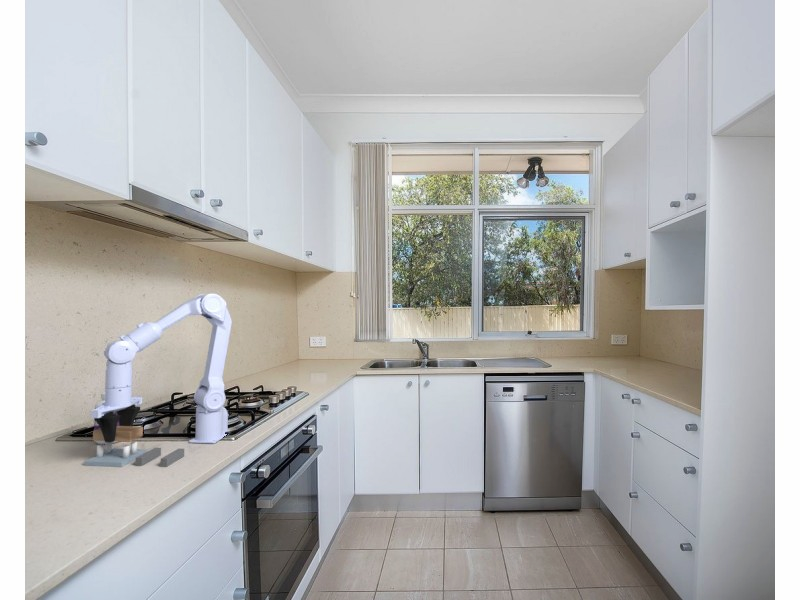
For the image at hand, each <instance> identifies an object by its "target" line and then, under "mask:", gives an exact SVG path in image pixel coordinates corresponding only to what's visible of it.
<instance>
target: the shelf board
mask: <svg viewBox="0 0 800 600" xmlns="http://www.w3.org/2000/svg"><path fill="white" fill-rule="evenodd" d="M143 432H144V427H143V426H136V425H135V426H134V425H132V426H117V428H116V436H115V440H114V441H118V442H117V443H119V442H121V443H122V442H123V443H125V442H126V443H132V442H134V441H135V440H137V439H139V438H142V437H144V433H143ZM92 441H93V442H94V441H105V440H104V437H103V434H102V431H101V428H99V429H97V430H94V429H93V431H92Z"/></svg>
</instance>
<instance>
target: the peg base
mask: <svg viewBox="0 0 800 600" xmlns="http://www.w3.org/2000/svg"><path fill="white" fill-rule="evenodd" d="M112 444H113V443H112V442H105V444H97V445H96V455H95V456H93V457H91V458H89V459H86V460H84V461H83V466H87V467H88V466H90V467H91V466H92V467H112V468H115V467H117V468H119V467H120V468H122V467H124V466H126V465H128V464H130V463H132V462H133V461H136V457H138V456H140V455H142V454H144V453H146V452H148V451H149V449H142V448H141V449H139V448H138V441H131V442H130V444H126V445H123V446H122V448H113V447H112V446H113V445H112Z"/></svg>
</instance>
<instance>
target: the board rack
mask: <svg viewBox="0 0 800 600" xmlns="http://www.w3.org/2000/svg"><path fill="white" fill-rule="evenodd" d="M160 456H162V447H154V448H152V449H150V450H148V452H146V453H144V454H142V455H140V456H138V457H136V460H135V466H137V467H142V466H144V465H146V464H147V463H149V462H151V461H153V460H155V459H156V458H159V457H160ZM184 457H185V448H177V449H175V450H174V451H172V452H170V453H168V454H166V455H164V456H163V457H161V458H160V468H163V467H165V468H166V467H169V466H170V465H173V464H174V463H175V462H177V461H178V460H180V459H183V458H184Z"/></svg>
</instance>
